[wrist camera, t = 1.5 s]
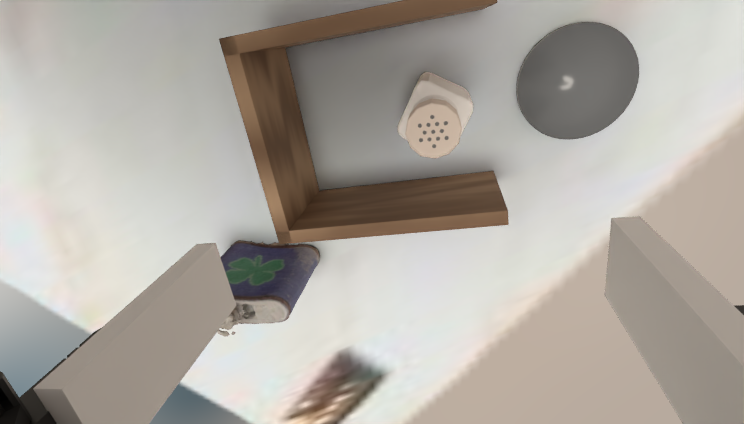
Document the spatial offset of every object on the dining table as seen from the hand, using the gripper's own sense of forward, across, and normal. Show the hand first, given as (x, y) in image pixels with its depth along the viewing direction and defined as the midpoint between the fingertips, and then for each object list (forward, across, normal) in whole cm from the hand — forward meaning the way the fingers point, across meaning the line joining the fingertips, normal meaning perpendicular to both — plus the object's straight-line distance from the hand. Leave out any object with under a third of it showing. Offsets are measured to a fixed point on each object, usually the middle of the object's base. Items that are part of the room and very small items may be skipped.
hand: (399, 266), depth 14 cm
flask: (+21, -16, -11) cm, 28 cm away
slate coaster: (+21, +11, +2) cm, 24 cm away
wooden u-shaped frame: (+21, -3, +2) cm, 21 cm away
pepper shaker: (+21, +1, +2) cm, 21 cm away
